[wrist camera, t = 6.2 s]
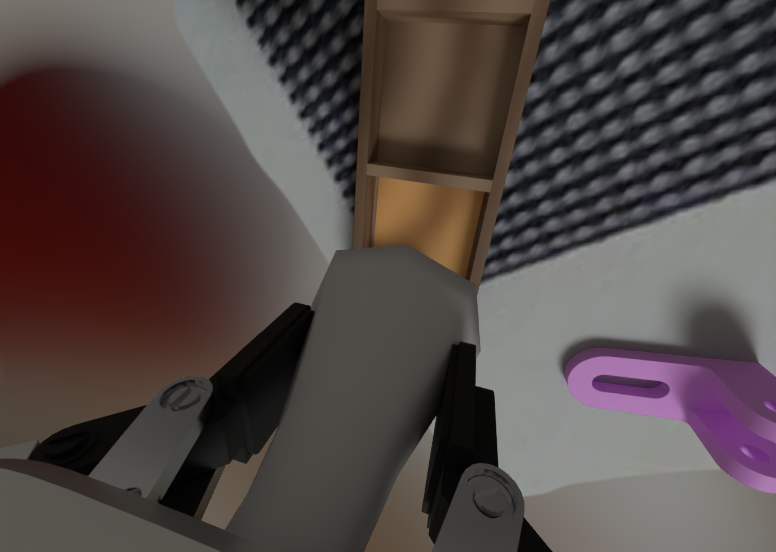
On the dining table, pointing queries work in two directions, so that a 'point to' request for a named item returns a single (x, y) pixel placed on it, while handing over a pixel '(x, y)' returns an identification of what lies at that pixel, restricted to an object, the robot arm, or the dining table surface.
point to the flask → (358, 398)
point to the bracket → (692, 402)
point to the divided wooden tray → (440, 122)
